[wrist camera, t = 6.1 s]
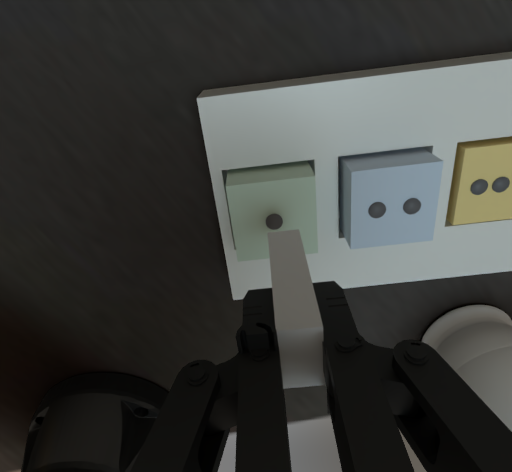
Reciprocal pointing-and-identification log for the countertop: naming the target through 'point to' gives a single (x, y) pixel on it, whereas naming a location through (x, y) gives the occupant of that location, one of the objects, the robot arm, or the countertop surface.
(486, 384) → the jar
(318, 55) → the countertop surface
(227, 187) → the tile one
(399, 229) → the tile two
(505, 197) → the tile three
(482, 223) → the button board
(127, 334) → the countertop surface
